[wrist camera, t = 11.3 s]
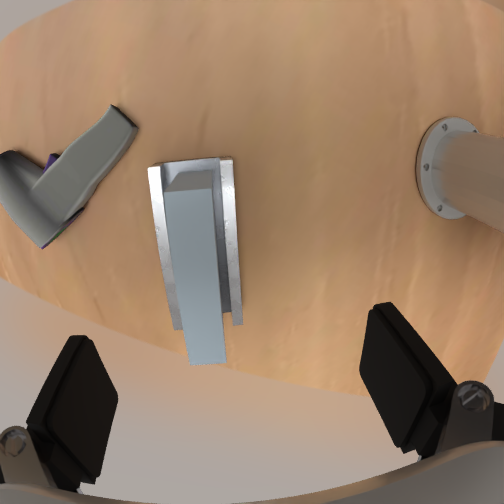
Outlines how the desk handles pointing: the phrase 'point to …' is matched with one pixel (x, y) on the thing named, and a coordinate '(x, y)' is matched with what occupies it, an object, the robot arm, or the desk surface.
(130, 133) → the infrared thermometer
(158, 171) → the track
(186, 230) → the grey slab
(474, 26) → the desk surface
